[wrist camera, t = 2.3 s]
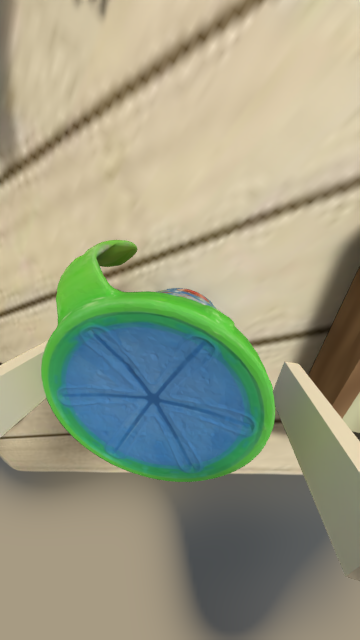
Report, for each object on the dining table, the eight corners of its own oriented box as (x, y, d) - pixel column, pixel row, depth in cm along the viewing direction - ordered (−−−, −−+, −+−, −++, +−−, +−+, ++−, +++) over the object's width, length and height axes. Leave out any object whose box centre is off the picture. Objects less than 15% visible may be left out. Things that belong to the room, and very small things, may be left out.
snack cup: (255, 375, 17) (308, 516, 8) (165, 392, 20) (128, 511, 11) (207, 217, 13) (203, 121, 4) (101, 268, 16) (-54, 289, 6)
